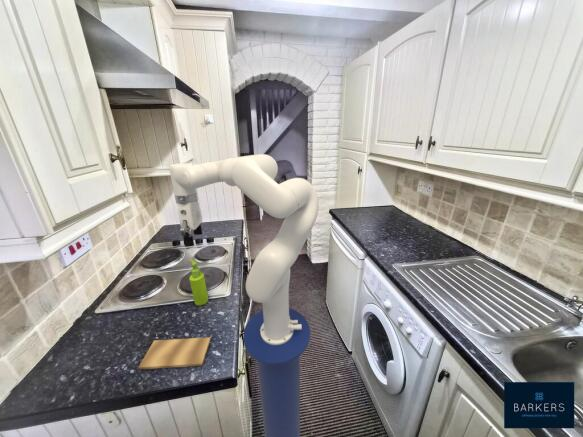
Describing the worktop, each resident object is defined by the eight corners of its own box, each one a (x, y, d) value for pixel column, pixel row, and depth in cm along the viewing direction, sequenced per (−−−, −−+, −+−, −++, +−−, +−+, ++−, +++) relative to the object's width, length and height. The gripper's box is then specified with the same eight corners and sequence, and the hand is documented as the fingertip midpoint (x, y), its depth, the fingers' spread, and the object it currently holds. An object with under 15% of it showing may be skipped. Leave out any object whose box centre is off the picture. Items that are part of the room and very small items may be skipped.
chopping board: (210, 339, 83) (210, 337, 83) (202, 365, 74) (201, 363, 73) (154, 342, 82) (154, 340, 82) (139, 369, 73) (138, 367, 73)
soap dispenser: (205, 293, 106) (198, 256, 99) (210, 301, 101) (203, 262, 94) (192, 298, 103) (183, 260, 96) (196, 307, 98) (188, 268, 91)
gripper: (188, 205, 76) (196, 250, 82) (204, 191, 92) (210, 230, 98) (165, 206, 75) (175, 251, 82) (185, 191, 91) (192, 230, 98)
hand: (194, 239), depth 90 cm, fingers open, 9 cm apart
